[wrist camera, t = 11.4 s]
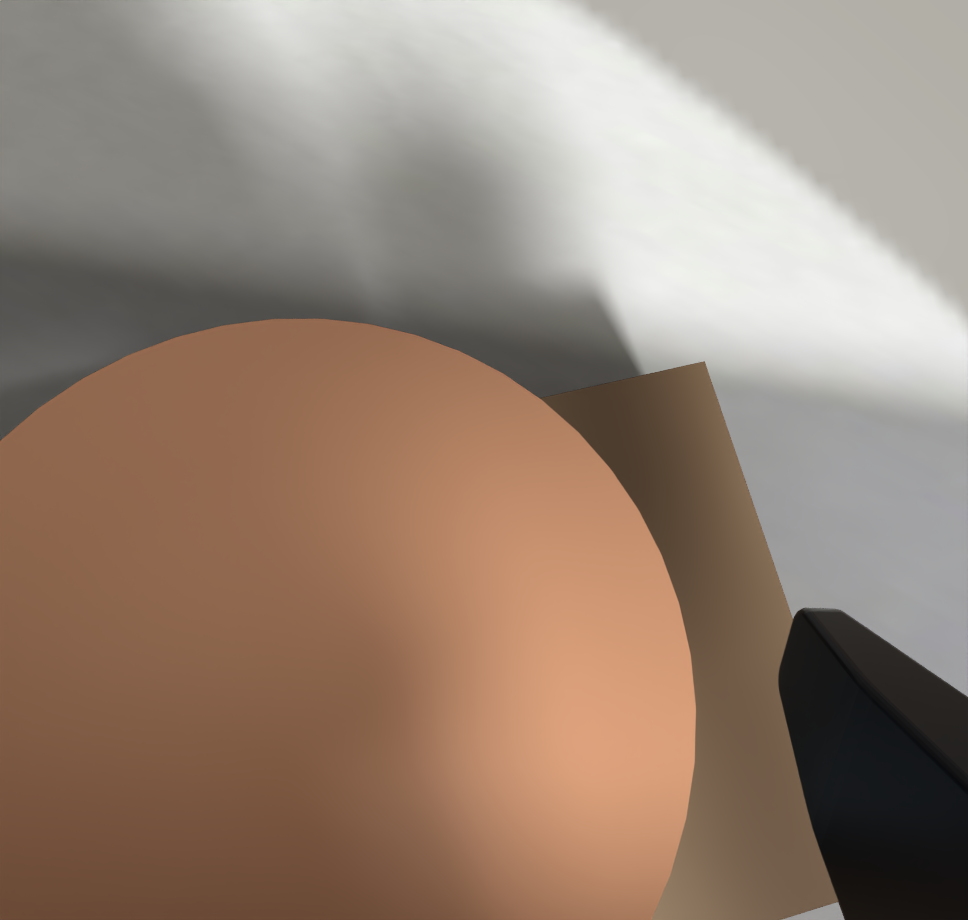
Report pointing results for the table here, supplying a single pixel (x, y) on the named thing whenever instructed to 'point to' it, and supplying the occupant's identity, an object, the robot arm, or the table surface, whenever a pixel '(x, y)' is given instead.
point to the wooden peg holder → (715, 646)
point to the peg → (330, 644)
